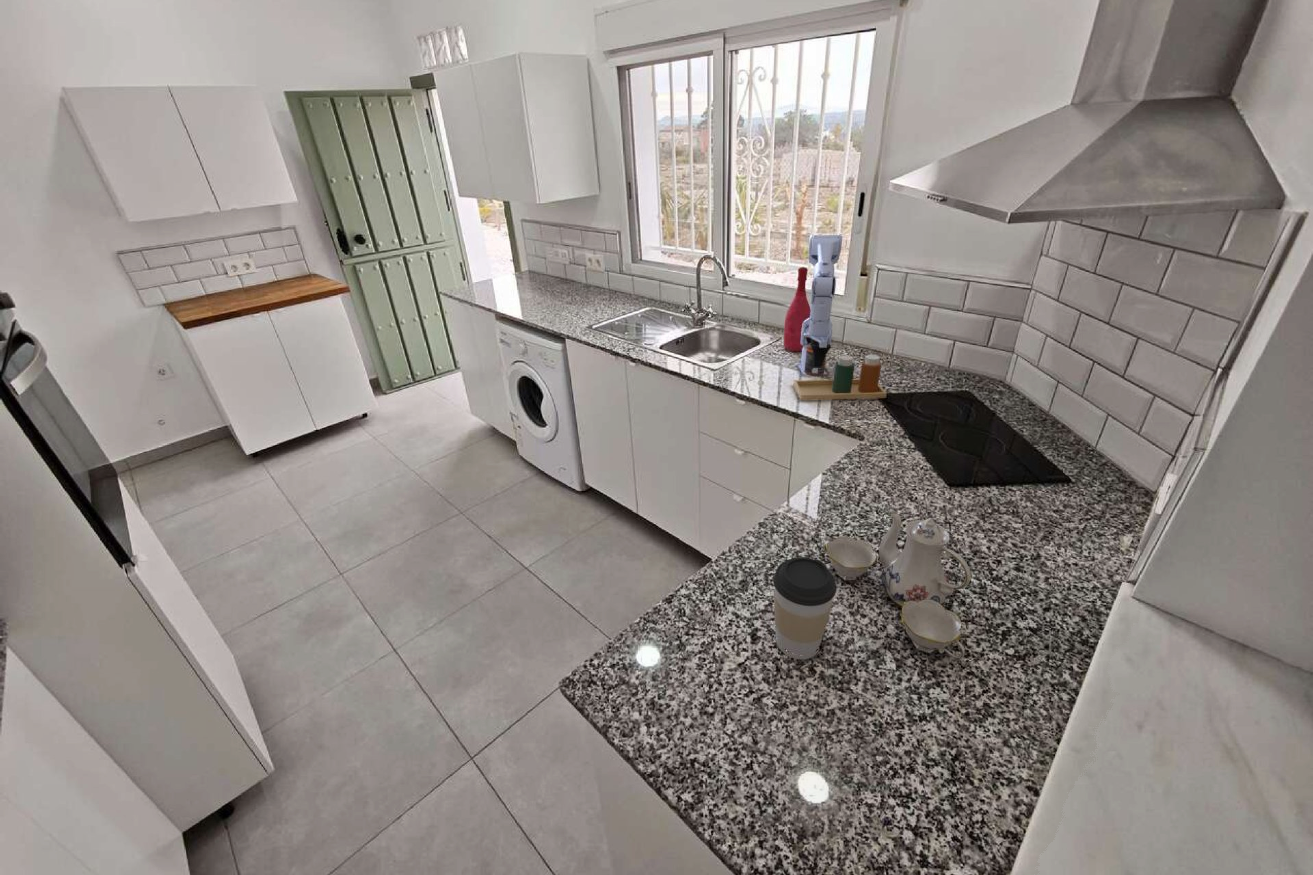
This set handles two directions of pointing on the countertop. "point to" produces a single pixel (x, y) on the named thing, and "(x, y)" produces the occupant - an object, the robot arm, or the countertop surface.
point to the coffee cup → (802, 605)
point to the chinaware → (910, 578)
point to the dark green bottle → (843, 375)
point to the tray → (824, 390)
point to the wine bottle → (797, 314)
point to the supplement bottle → (809, 362)
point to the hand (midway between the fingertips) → (815, 362)
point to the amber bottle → (870, 374)
